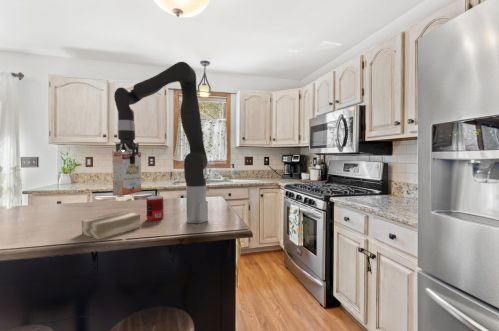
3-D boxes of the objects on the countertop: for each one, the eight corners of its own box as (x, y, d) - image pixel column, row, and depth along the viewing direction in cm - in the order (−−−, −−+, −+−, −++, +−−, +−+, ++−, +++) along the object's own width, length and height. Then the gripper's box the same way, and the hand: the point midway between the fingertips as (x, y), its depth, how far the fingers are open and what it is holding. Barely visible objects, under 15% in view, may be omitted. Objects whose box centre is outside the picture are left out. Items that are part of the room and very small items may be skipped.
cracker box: (123, 195, 117) (122, 151, 116) (112, 195, 118) (111, 151, 117) (142, 191, 130) (141, 151, 130) (132, 191, 132) (131, 151, 131)
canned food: (166, 217, 128) (165, 195, 128) (159, 221, 120) (158, 198, 120) (151, 216, 129) (151, 195, 128) (143, 220, 121) (143, 198, 121)
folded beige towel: (140, 228, 110) (140, 214, 110) (98, 239, 95) (98, 224, 94) (124, 224, 116) (123, 211, 116) (82, 234, 101) (81, 220, 101)
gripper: (143, 130, 123) (143, 163, 124) (123, 131, 130) (124, 163, 130) (129, 128, 116) (130, 164, 117) (110, 130, 123) (111, 164, 124)
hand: (127, 163), depth 124 cm, fingers closed on cracker box, 6 cm apart
